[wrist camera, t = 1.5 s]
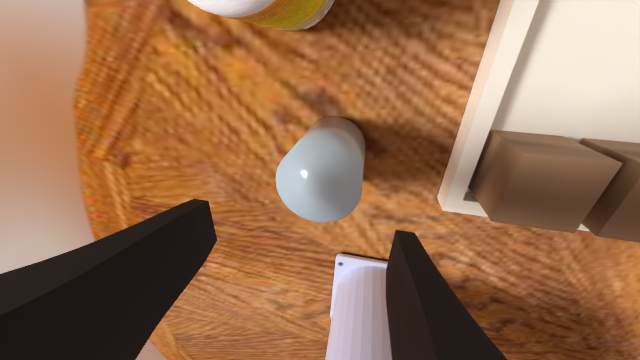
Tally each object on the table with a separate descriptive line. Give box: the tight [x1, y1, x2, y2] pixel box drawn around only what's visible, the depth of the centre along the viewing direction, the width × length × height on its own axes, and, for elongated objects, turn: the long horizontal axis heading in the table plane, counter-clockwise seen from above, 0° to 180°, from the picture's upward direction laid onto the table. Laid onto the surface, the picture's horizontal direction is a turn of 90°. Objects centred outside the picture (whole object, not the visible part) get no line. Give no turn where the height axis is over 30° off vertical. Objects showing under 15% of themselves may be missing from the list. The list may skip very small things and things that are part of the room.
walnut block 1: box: [468, 130, 623, 233], centre depth 14 cm, size 4×4×4 cm
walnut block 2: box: [579, 138, 640, 242], centre depth 13 cm, size 4×4×4 cm
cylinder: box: [276, 116, 366, 222], centre depth 15 cm, size 5×5×6 cm
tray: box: [437, 0, 640, 231], centre depth 13 cm, size 14×12×2 cm
